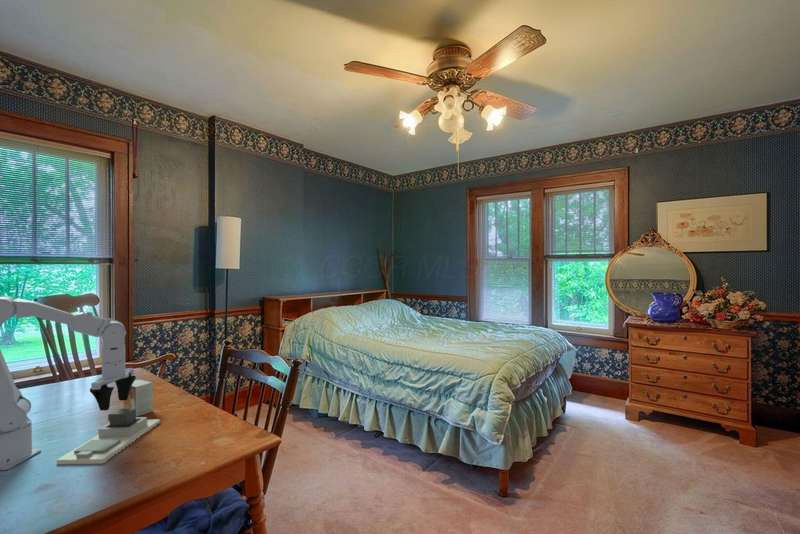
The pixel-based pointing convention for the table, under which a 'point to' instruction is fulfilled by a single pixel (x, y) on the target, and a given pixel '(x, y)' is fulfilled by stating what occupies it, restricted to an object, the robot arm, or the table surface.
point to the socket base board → (108, 442)
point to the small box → (140, 397)
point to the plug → (122, 418)
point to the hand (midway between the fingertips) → (114, 404)
